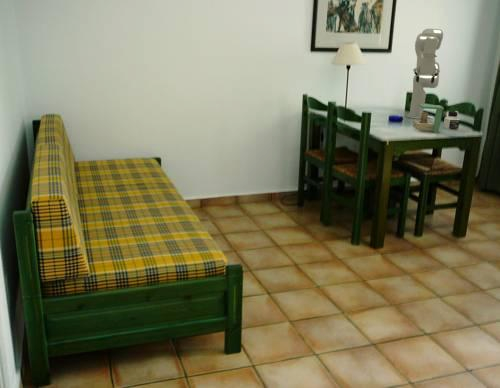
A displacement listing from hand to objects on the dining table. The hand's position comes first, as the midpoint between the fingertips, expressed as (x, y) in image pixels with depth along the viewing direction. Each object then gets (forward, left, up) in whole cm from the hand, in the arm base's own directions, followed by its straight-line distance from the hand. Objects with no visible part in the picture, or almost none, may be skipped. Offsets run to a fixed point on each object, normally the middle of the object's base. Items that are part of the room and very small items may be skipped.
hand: (424, 82), depth 352 cm
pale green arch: (+22, +1, -28) cm, 36 cm away
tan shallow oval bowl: (+14, 0, -28) cm, 32 cm away
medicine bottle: (+10, +19, -28) cm, 36 cm away
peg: (+12, 0, -28) cm, 31 cm away
